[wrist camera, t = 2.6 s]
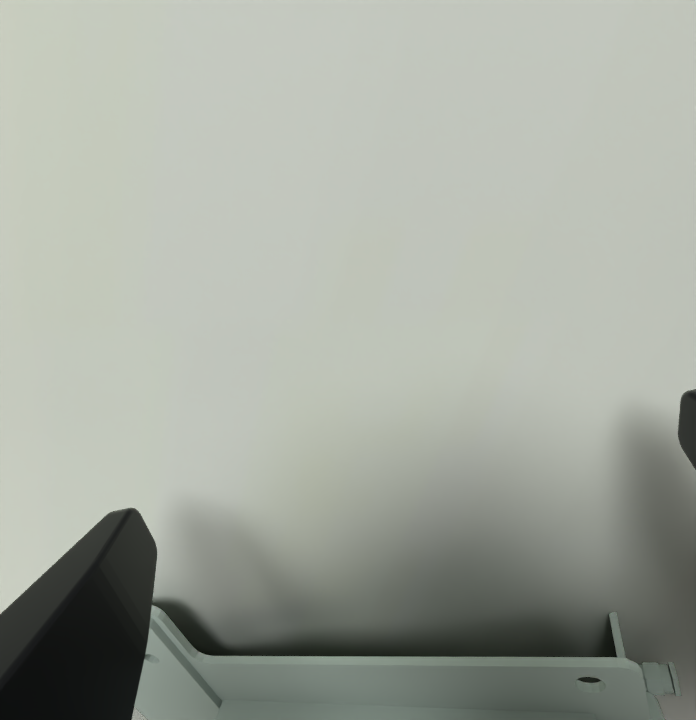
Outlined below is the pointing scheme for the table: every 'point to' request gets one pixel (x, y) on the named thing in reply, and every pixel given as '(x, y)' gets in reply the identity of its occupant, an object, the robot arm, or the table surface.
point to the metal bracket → (393, 685)
